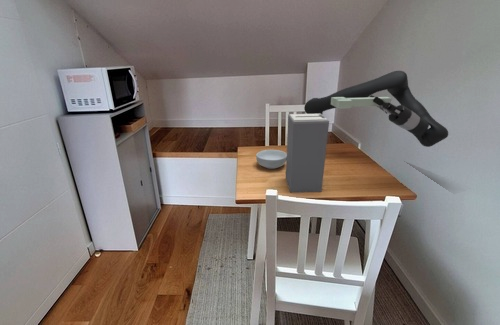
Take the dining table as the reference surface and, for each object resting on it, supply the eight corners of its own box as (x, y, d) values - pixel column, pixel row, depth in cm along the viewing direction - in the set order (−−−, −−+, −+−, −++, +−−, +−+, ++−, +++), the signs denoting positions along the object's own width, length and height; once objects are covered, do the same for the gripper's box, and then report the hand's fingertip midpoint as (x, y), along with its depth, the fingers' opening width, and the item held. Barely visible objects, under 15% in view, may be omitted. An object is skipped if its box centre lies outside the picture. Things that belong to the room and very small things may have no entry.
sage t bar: (381, 102, 104) (383, 95, 103) (394, 107, 95) (396, 99, 94) (330, 104, 104) (331, 97, 103) (338, 108, 95) (339, 100, 94)
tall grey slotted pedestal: (313, 177, 120) (319, 112, 108) (321, 191, 107) (329, 119, 95) (285, 178, 120) (288, 113, 108) (290, 192, 107) (293, 120, 95)
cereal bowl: (291, 163, 137) (291, 151, 135) (279, 174, 124) (279, 162, 121) (264, 158, 145) (264, 147, 143) (250, 168, 132) (250, 156, 130)
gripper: (400, 107, 107) (370, 87, 103) (421, 113, 94) (387, 91, 90) (389, 121, 109) (358, 103, 106) (407, 130, 96) (374, 109, 93)
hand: (372, 98), depth 98 cm, fingers closed on sage t bar, 3 cm apart
